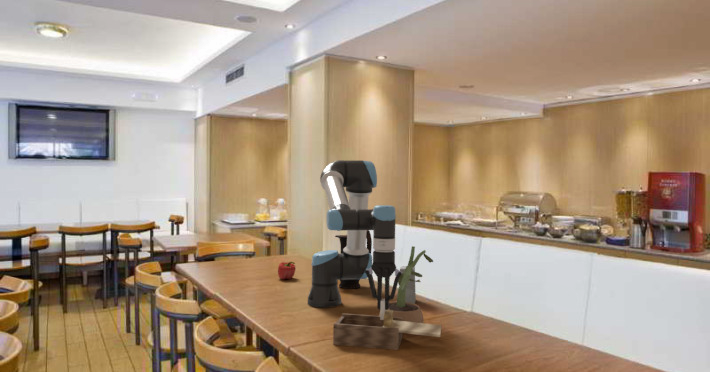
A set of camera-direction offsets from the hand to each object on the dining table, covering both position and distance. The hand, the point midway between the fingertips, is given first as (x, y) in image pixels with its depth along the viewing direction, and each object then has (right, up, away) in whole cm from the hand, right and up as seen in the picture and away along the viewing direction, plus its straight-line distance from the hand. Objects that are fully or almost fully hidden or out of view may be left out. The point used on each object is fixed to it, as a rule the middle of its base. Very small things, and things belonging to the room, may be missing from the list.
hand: (382, 318), depth 165 cm
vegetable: (-47, -6, +101) cm, 112 cm away
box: (-5, -8, +1) cm, 9 cm away
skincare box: (+15, -8, +55) cm, 58 cm away
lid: (+10, -3, -2) cm, 10 cm away
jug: (-12, -7, +82) cm, 83 cm away
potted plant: (+10, -8, +20) cm, 24 cm away
